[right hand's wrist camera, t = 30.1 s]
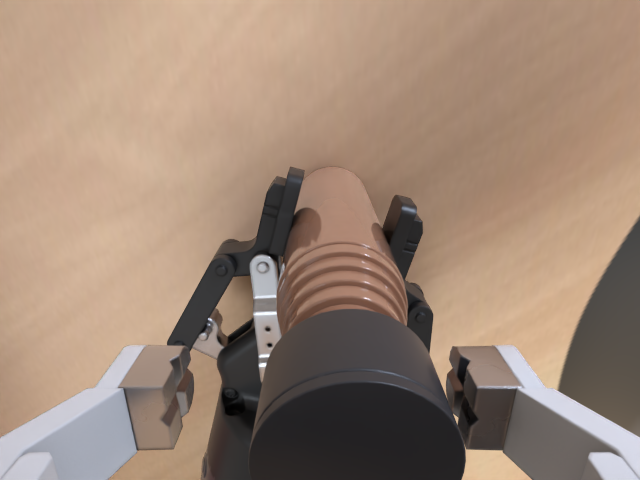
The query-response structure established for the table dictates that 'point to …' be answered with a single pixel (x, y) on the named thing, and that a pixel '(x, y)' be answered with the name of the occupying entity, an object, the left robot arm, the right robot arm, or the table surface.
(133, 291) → the table surface
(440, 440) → the cap
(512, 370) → the right robot arm
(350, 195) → the bottle
